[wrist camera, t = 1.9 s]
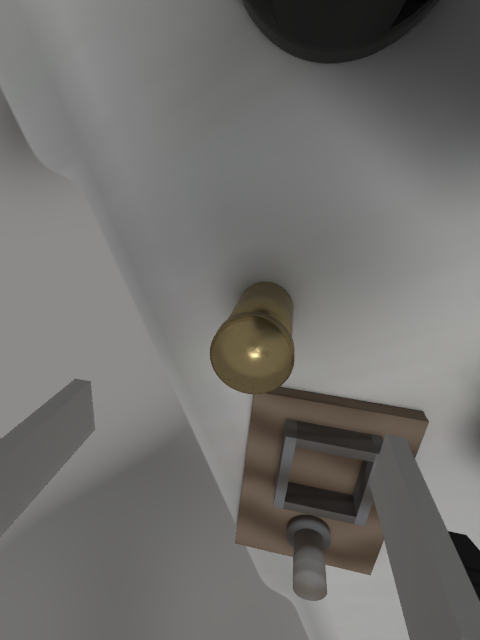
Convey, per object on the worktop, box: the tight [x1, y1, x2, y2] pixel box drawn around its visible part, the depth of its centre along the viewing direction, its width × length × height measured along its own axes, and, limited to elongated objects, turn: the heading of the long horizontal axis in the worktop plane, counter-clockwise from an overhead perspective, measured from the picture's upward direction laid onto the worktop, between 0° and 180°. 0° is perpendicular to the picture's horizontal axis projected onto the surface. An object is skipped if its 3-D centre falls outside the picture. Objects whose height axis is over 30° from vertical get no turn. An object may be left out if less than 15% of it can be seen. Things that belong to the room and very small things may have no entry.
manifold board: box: [235, 387, 429, 601], centre depth 32 cm, size 22×16×8 cm
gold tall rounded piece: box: [210, 282, 294, 394], centre depth 25 cm, size 5×5×10 cm
